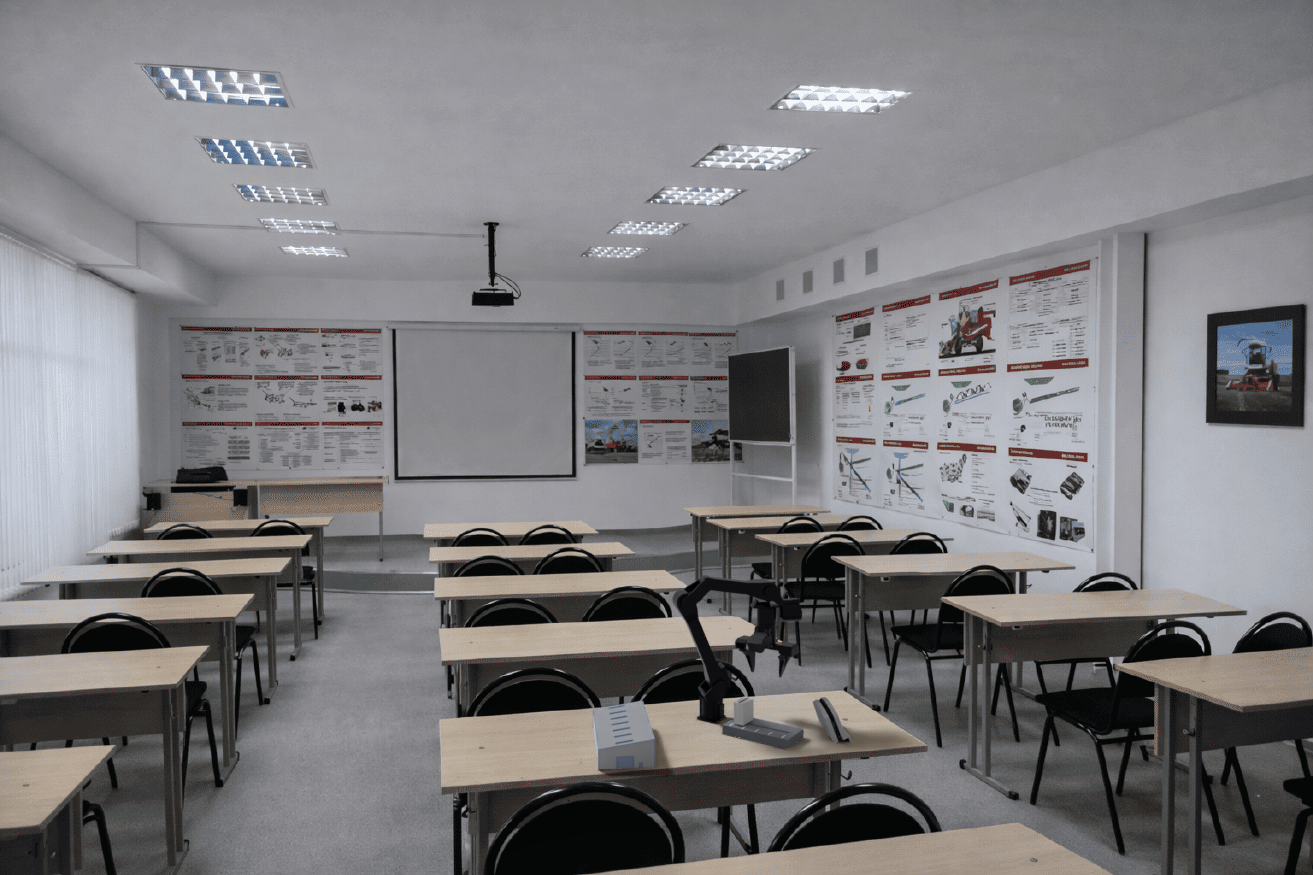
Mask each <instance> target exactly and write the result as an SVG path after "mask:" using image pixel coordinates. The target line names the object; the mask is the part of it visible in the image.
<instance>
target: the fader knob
mask: <svg viewBox="0 0 1313 875" xmlns="http://www.w3.org/2000/svg"><path fill="white" fill-rule="evenodd" d="M733 718H734V724H738V725H742V726H744V725H745V724H747V723H749V722H750V721H752V720H753V718H754V698H753V697H749V696H748V697H747V696H742V697H741V698H739V699H737V700H735V701H734V702H733Z"/></svg>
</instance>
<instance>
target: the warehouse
mask: <svg viewBox="0 0 1313 875" xmlns="http://www.w3.org/2000/svg"><path fill="white" fill-rule="evenodd" d="M592 729H593V730H594V731H593V736H594V737H595V738H594V737H593V738H594V745H596V746H595V752H596V754H595V755H596V761H598V762H597V769H598V771H601V770H600V769H611V770H620V769H619V768H626V769H640V768H639V767H642V768H641V769H647V768H646V767H649V769H651V768H656V738H655V735H654V732H653V728H652V725H651V722H650V719H649V715H648V713H647V710H646V707H645V703H644V700H638V701H633V702H632V701H631V702H627V703H621V704H616V705H609V706H605V707H599V708H593V709H592ZM617 768H618V769H617Z"/></svg>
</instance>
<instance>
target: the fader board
mask: <svg viewBox="0 0 1313 875" xmlns="http://www.w3.org/2000/svg"><path fill="white" fill-rule="evenodd" d="M721 729H722V730H721V731H722V733H721V734H722V735H726V736H729V735H730V737H734V736H736V737H735V738H738V737H740V738H739V739H742V738H743V739H742V740H746V739H747V741H751V742H756V743H759V742H760V743H759V744H763V743H764V745H767V746H771V745H772V747H776V748H781V749H784V748H786V749H785V750H789V749H790V748H791V747H793V746H794V745H796V744H797V743H799V742H800V741H801V740H802V738H803V737H804V735H805V734H804V733H805V732H804V730H805V729H804V728H802V727H796V726H792V725H788V724H784V723H778V722H775V721H769V720H765V719H759V718H755V717H753V720H752V721H750V722H749V723H747V724H745V725H744V726H742V725H738V724H734V717H733V718H732V719H730V720H729V721H727V722H725V723H724V724H722V728H721ZM803 739H804V738H803ZM796 742H797V743H796ZM788 748H789V749H788Z"/></svg>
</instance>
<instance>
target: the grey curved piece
mask: <svg viewBox="0 0 1313 875" xmlns="http://www.w3.org/2000/svg"><path fill="white" fill-rule="evenodd" d="M812 705H813V708H814V710H815V713H816V716H817V719H818V721H819V723H820V725H821V727H822V728H823V729H824V730H825V732H826V733H827V736H828V737H829V738H830V739H831V740H832V742H833V743H834V742H836V743H839V741H840V740H842V741H844V740H846V739H847V740H848V741H849V743H853V741H852V738H851V736H850V734H849V732H847V731H846V729H845V728H844V727H843V726H842V723H841V720H840V717H839V715H838V714H839V713H837V711H836V709H835V707H834V706H833V704H832V703H831V701H830V700H829V699H828V698H827V697H826V696H823V697H820V698H819V699H818V698H817V699H815V700H813V701H812Z"/></svg>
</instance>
